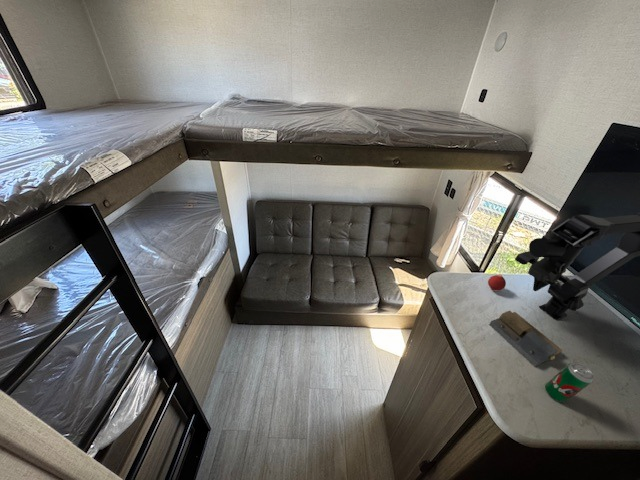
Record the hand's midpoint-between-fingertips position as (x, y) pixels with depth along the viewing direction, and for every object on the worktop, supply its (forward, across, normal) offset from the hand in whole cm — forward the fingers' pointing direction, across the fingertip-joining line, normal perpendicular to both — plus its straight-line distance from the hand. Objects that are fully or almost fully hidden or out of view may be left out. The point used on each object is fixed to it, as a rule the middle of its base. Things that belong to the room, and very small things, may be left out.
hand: (534, 290), depth 86 cm
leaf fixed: (+12, +8, -11) cm, 19 cm away
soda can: (+12, +23, -17) cm, 31 cm away
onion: (+12, -12, +2) cm, 17 cm away
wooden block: (+12, +8, -7) cm, 16 cm away
